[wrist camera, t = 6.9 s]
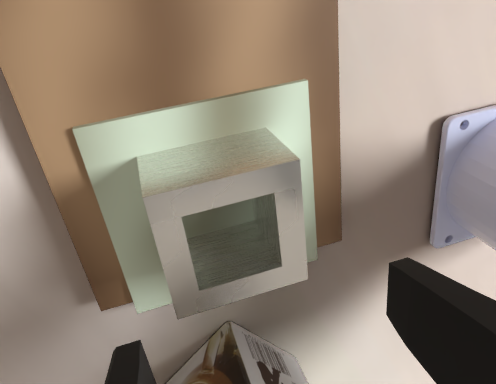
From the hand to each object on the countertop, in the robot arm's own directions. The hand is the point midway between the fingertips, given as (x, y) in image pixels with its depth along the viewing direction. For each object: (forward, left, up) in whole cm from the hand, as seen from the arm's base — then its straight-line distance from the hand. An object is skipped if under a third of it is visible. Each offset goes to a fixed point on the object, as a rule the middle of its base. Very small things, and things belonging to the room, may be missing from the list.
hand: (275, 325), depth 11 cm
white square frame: (0, 0, -7) cm, 7 cm away
